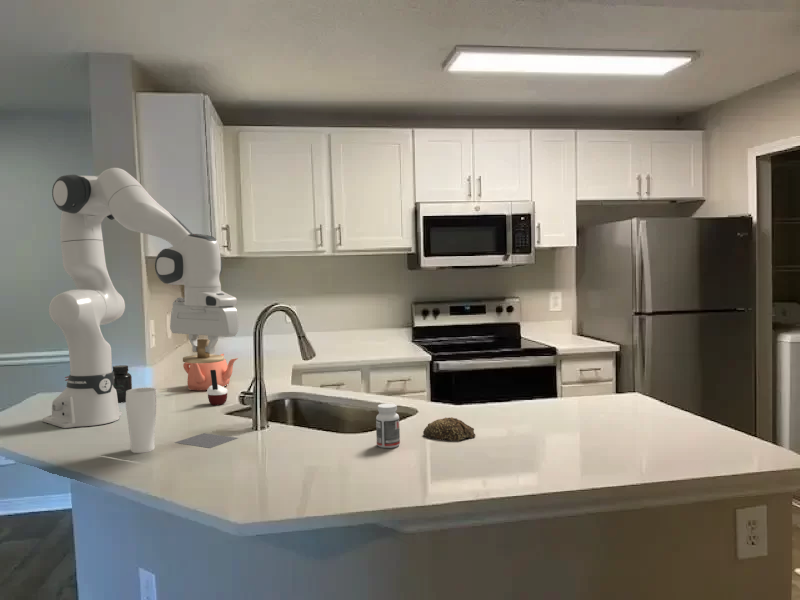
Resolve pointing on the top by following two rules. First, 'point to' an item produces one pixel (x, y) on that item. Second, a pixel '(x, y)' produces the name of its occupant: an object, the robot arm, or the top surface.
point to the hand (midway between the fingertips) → (203, 352)
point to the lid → (202, 354)
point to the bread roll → (448, 430)
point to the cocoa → (216, 391)
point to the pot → (208, 374)
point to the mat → (206, 440)
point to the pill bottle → (387, 426)
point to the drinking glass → (141, 418)
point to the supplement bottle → (122, 381)
